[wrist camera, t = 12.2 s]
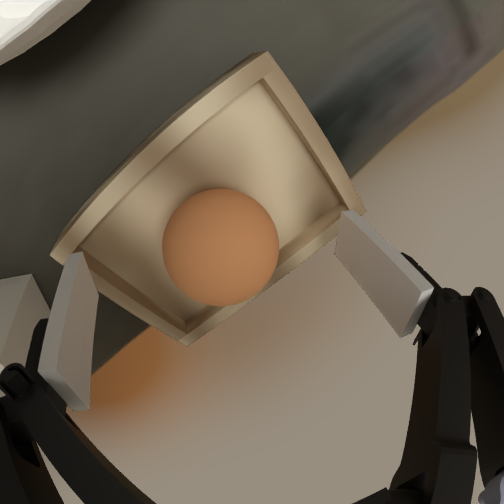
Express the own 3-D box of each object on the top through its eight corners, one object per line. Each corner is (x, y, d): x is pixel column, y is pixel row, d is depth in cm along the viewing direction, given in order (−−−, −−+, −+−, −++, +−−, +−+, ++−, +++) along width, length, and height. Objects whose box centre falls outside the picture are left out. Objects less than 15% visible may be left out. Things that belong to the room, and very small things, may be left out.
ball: (169, 268, 19) (176, 339, 14) (154, 180, 16) (151, 236, 11) (259, 253, 20) (291, 317, 16) (260, 167, 17) (302, 214, 12)
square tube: (12, 327, 19) (-9, 405, 13) (-15, 282, 17) (-50, 361, 10) (56, 322, 20) (41, 407, 14) (31, 273, 18) (-1, 361, 11)
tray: (183, 322, 24) (187, 346, 22) (59, 233, 17) (49, 255, 15) (347, 196, 21) (366, 211, 19) (253, 53, 14) (267, 50, 12)
